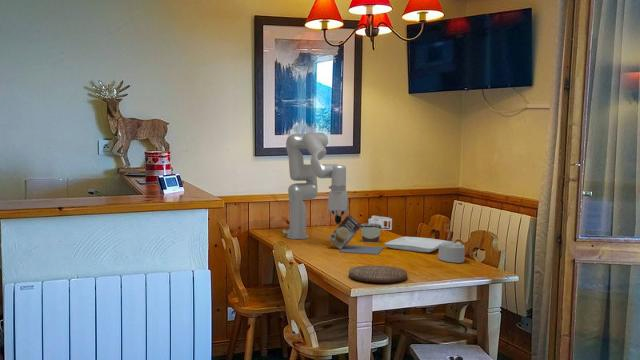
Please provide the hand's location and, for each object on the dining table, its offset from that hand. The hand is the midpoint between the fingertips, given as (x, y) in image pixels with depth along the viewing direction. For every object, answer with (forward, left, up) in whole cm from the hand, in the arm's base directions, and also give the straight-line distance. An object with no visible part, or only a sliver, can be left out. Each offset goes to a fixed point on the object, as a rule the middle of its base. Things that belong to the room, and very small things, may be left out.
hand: (338, 223), depth 325 cm
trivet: (+30, -55, -14) cm, 64 cm away
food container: (+13, +27, -14) cm, 33 cm away
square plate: (+40, +17, -14) cm, 46 cm away
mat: (+13, 0, -13) cm, 19 cm away
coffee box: (-1, 0, -11) cm, 11 cm away
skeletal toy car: (+10, +78, -14) cm, 80 cm away
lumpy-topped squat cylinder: (+60, -10, -14) cm, 62 cm away
